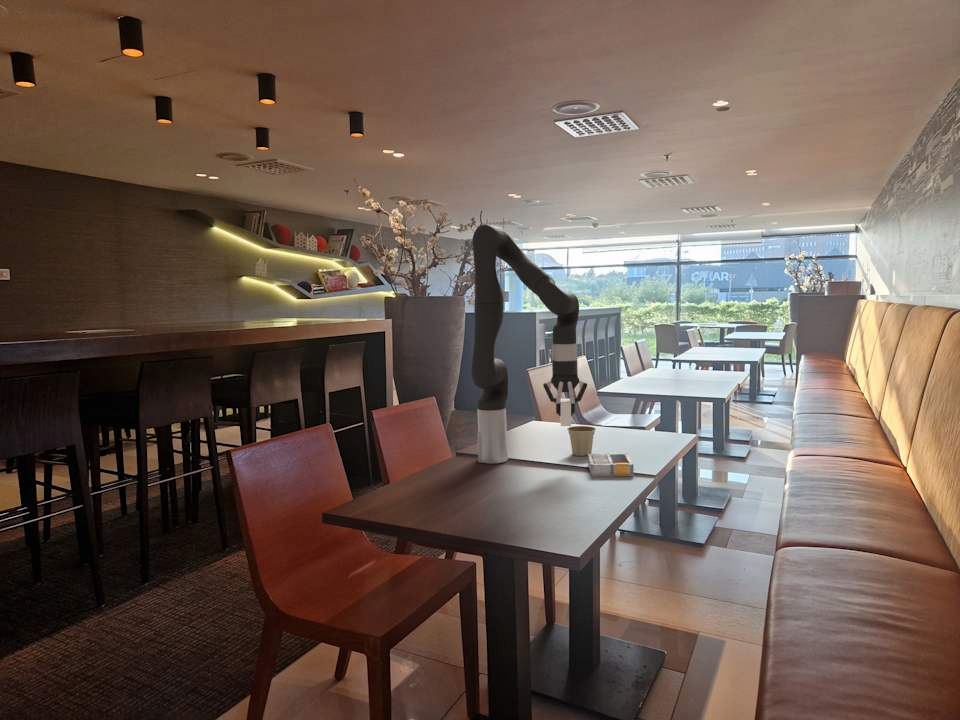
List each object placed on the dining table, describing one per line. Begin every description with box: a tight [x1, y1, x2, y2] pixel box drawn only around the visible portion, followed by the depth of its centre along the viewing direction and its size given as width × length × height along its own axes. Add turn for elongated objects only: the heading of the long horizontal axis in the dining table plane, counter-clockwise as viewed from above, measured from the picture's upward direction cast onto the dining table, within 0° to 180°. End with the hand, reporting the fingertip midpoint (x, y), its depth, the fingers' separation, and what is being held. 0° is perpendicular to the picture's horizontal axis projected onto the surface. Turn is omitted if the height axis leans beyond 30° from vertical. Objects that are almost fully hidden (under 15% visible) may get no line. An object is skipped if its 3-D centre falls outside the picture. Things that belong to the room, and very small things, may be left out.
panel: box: [559, 398, 572, 427], centre depth 189 cm, size 3×8×7 cm, turn 174°
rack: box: [587, 452, 634, 478], centre depth 186 cm, size 12×13×4 cm
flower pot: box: [567, 425, 597, 457], centre depth 207 cm, size 9×9×9 cm
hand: (565, 415), depth 189 cm, fingers closed on panel, 3 cm apart
